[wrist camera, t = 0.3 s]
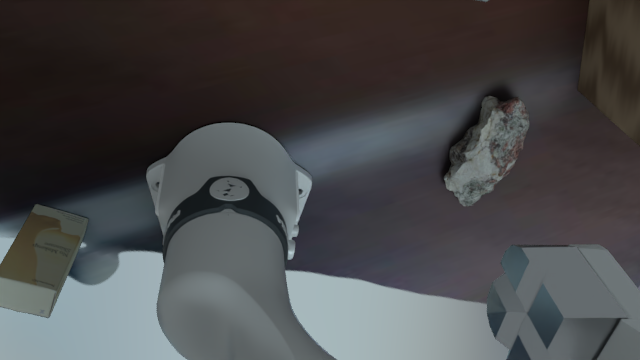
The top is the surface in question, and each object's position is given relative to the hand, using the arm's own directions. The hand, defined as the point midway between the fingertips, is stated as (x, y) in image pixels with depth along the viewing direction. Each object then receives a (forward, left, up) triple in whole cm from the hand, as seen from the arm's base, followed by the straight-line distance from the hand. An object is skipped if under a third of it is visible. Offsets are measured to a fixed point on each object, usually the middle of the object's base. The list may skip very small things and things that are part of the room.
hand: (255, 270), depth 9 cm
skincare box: (-39, +21, -49) cm, 66 cm away
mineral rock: (-25, -28, -49) cm, 62 cm away
